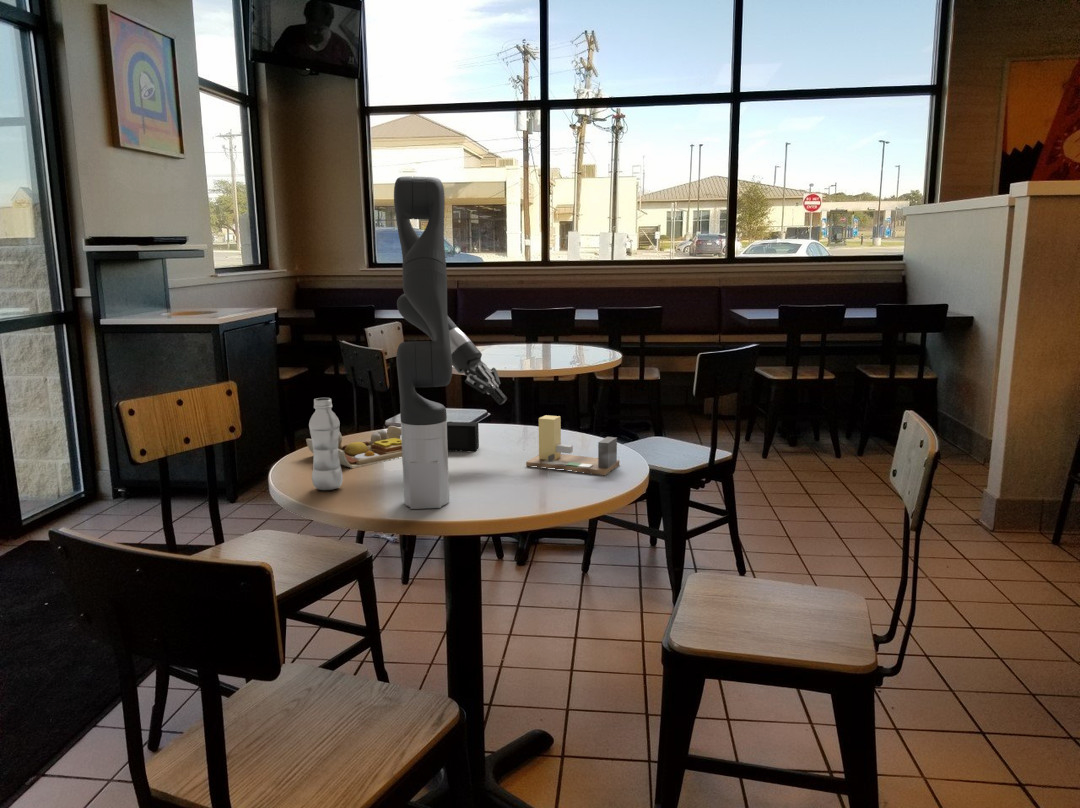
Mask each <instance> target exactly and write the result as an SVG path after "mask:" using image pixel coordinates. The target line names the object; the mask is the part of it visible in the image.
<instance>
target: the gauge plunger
mask: <svg viewBox="0 0 1080 808" xmlns="http://www.w3.org/2000/svg"><path fill="white" fill-rule="evenodd" d="M561 422H562V420H561V416H560V415H558V416H557V415H549V414H548V415H547V414H546V415H543V416H540V417H538V455H539V459H544V460H548V461H552V460H556V459H558V458H559V457H561V454H564V453H565V454H568V455H571V454H572V453H573V449H574V448H573V447H574V445H570V444H563V443H562V442H561V441H562V437H561V435H562V433H561V432H562V431H561V430H562V428H561V427H562V426H561V425H562V424H561Z"/></svg>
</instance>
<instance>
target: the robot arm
mask: <svg viewBox="0 0 1080 808" xmlns="http://www.w3.org/2000/svg"><path fill="white" fill-rule="evenodd" d="M393 188H394V189H393V206H394V207H393V208H394V214H395V221H396V227H397V232H398V238H399V245H400V249H401V255H402V290H403V294H401V295H400V296H399V297H398V299H397V301H396V306H397V311H398V312H399V314H400V315H401V316H402V317H403V319H404V320H406V321H407V322H408V323H410V324H411V325H413V326H414V327H416V328H418V329H419V330H420V331H422V332H423V333H424V334H425V335H427V336H428V337H429V338H430V339H431V340H424V341H423V340H422V341H420V340H418V341H414V340H413V341H402V342H400V343H399V344H398V346H397V350H396V358H395V359H396V369H397V371H396V372H397V379H398V380H397V381H398V391H399V404H400V405H399V408H400V409H399V410H400V412H399V413H400V414H399V415H400V428H401V437H400V438H401V440H402V458H401V459H402V461H401V462H402V481H403V502H404V505H405V506H407V507H409V508H410V510H418V509H419V510H420V509H422V510H423V509H441V508H442V506H446V505H447V504H448V503H450V485H449V483H450V479H449V456H448V455H449V454H448V453H449V451H448V448H447V422H448V421H447V408H446V406H444V404H442V403H440V402H436V401H433V400H429V399H427V398H425V397H424V396H422V395H420V394H419V393H417V391H416V389H417V388H439V387H446V386H448V385H449V384H450V383H451V381H452V376H453V368H454V369H455V370H456V372H458V374H464V375H465V376H466V379H465V380H464V383H465V384H466V385H469V386H470V387H471V388H473V389H475V390H476V391H478V392H480V393H481V394H487V395H490V396H491V397H492V399H494V401H495V402H496V403H497V404H498V405H503V404H505V402H506V401H507V400H508V397H507V396H506V395H505V394H504V393H503V391H502V390H501V389H500V388H499V387H500V385H501V381H500V377H499V375H498V370H497V369H496V368H495V367H492V368H489V367H488V366H487V364H486V363H484V362H483V361H482V355H483V354H482V352H481V351H480V350H479V348H478V347H477V346H476V345H475V344H474V343H473V341H472V340H471V339H470V338H469V336H467V335H466V333H465V332H463V331H462V330H461V329H460V328H459V327H458V326H457V324H455V322H454V321H453V320H452V319H451V317H449V315H448V277H447V275H448V273H447V262H446V261H447V260H446V249H445V207H446V206H445V198H446V197H445V188H444V185H443V182H442V180H441V179H440V178H439V177H433V176H412V175H411V176H399V177H398V178H397V179H395V183H394V187H393ZM411 220H428V221H427V224H426V226H425V229H424V231H423V232H422V233H421V235H418V233H417V232H416V231H415V229H414V227H413V225H412V223H411Z"/></svg>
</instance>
